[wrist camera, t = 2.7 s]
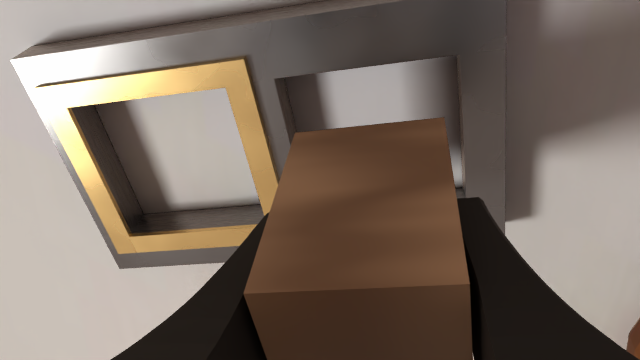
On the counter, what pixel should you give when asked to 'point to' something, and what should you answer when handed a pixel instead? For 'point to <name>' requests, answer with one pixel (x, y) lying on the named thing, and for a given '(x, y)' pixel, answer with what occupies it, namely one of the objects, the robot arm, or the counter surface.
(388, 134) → the brown wooden block
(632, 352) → the food container
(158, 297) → the counter surface
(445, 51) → the grey slotted tray
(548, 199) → the counter surface
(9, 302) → the counter surface
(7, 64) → the counter surface
